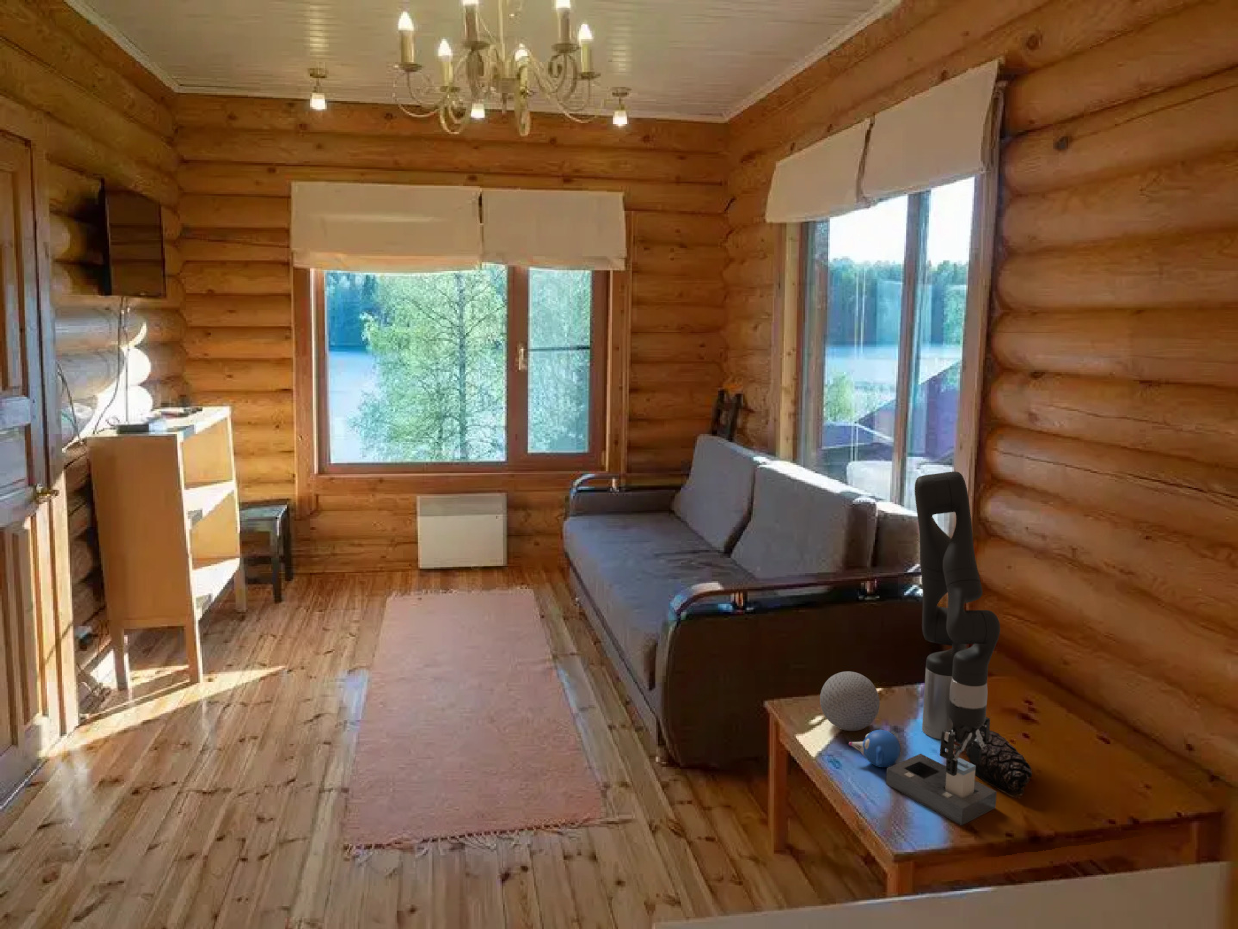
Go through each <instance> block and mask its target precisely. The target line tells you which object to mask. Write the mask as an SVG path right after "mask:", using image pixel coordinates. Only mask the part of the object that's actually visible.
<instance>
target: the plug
mask: <svg viewBox="0 0 1238 929" xmlns="http://www.w3.org/2000/svg"><path fill="white" fill-rule="evenodd" d="M957 760H958V765H957V775H955V776H952V775H950V774H948V773H947V772H946V786H945V790H946V791H948V792H950V793H952V794H954V795H956V796H958V797H960V798H962V799H964V798H966V797H968V796H970V795H972V794H974V782H975V781H976V775H975V769H976V766H975V765H973V764H971V762H970V761H967V760H965V759H964V758H961V757H958V759H957Z"/></svg>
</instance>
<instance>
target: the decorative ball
mask: <svg viewBox="0 0 1238 929" xmlns="http://www.w3.org/2000/svg"><path fill="white" fill-rule="evenodd" d="M819 703H820V704H819V705H820V707H821V711H822V713H823V715H824V716H825V718H826V719H827V721H829V722H830V723H831V724H832V725H833V726H834V727H836V728H837V729H840V730H842V731H846V732H847V731H849V732H855V731H856V732H857V731H860V730H863V729H865V728H866V729H867V727H869V726H870V725H871V724H872V723H873V722H874V721H875V719H876V718H877V716H878V713H879V710H880V704H881V703H880V694H879V691H878V690H877V688H876V686H875V685H874V684H873V682H872V681H871V680H870V679H869V678H868V677H866V676H864V675H863V674H861V673H858V672H855V671H841V672H838V673H835V674H833V675H831V676H830V677H828V679H827V680H826V681H825V682H824V684H823V686H822V688H821V690H820V694H819Z"/></svg>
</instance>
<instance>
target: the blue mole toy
mask: <svg viewBox="0 0 1238 929" xmlns="http://www.w3.org/2000/svg"><path fill="white" fill-rule="evenodd" d="M848 745H849V746H850V747H853V748H854V749H856V750H857V751H859V752H860V753H861V755H863V756H864V757H865V759H866V760H867V761H868V762H869V763H870V764H872V765H874V766H875V767H879V768H888V767H891V766H893V765H895V764H897V762H898V760H899V758H900V756H901V755H900V754H901V747H900V746H901V745H900V742H899V740H898V738H897V736H895V735H894V734H893V733H891V732H890V731H888V730H884V729H875V730H873V731H870V732H869V733H867V734H866V735H865V737H864V739H863V741H849V742H848Z"/></svg>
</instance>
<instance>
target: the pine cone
mask: <svg viewBox="0 0 1238 929" xmlns="http://www.w3.org/2000/svg"><path fill="white" fill-rule="evenodd" d="M981 735H983V736H984V732H982V731H981ZM971 745H972V743H969V744H968V745H966V747H965V749H964V751H965V755H966V756H967V758H968V760H969V762H970V763H971V764H973V765H975V766H976V769H975V776H977V777H978V778H980V779H981V780H982V781H984V782H985V783H986V784H988V785H990V786H993V787H995V789H997V790H998V791H1000V792H1002V793H1004V794H1005V795H1008V796H1010V797H1013V798H1015V799H1021V797H1020V796H1023V795H1024V792H1025V789H1024V788H1026V787H1027V786H1028V784H1029V782H1030V781H1031V780H1030V778H1031V777H1032V776H1033V772H1032V767H1031V765H1030V764H1029V762H1027V760H1026V759H1025V757H1024V755H1023V754H1021V753H1019V752H1018V750H1017V749H1016V747H1014V745H1012V744H1010V742H1009V741H1008V740H1007V739H1006V738H1005V737H1003V736H1001V735H1000V733H999V732H996V731H994V730H990V732H989V742H988V743H986V742H985V743H984V747H983V748H982V753H981V762H980V763H979V764H976V763H974V762H972V761H971V760H970V751H971Z"/></svg>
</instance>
